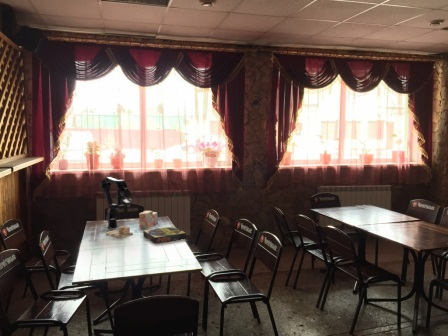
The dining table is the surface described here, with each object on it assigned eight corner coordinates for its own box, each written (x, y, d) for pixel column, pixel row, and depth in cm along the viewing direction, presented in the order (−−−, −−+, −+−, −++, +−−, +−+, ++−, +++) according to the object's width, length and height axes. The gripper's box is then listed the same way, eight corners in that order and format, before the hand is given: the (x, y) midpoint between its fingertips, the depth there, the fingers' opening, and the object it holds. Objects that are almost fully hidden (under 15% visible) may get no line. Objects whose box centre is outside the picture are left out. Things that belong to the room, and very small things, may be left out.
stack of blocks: (151, 222, 348) (150, 208, 347) (157, 222, 346) (157, 208, 345) (139, 228, 328) (138, 213, 327) (146, 228, 326) (145, 213, 325)
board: (105, 234, 307) (105, 232, 307) (115, 231, 316) (115, 229, 316) (123, 237, 298) (123, 235, 298) (132, 234, 307) (132, 232, 307)
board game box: (186, 239, 294) (185, 232, 293) (155, 244, 282) (155, 237, 281) (172, 232, 314) (172, 226, 313) (143, 237, 302) (143, 230, 301)
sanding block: (118, 233, 304) (118, 227, 304) (123, 232, 308) (122, 225, 308) (125, 234, 301) (125, 228, 300) (129, 233, 305) (129, 226, 304)
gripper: (119, 198, 306) (120, 218, 308) (136, 195, 322) (137, 214, 324) (108, 197, 312) (109, 217, 313) (126, 194, 328) (126, 213, 329)
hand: (121, 215), depth 320 cm, fingers open, 9 cm apart
